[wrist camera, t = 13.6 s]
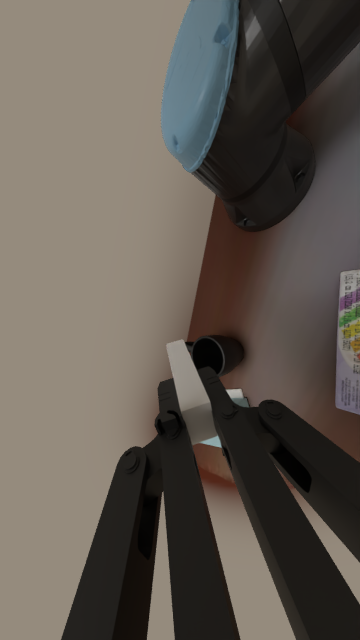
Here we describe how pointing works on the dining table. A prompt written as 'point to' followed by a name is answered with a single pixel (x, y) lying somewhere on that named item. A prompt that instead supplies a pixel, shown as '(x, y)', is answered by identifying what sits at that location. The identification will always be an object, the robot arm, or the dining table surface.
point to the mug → (215, 353)
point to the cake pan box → (348, 343)
